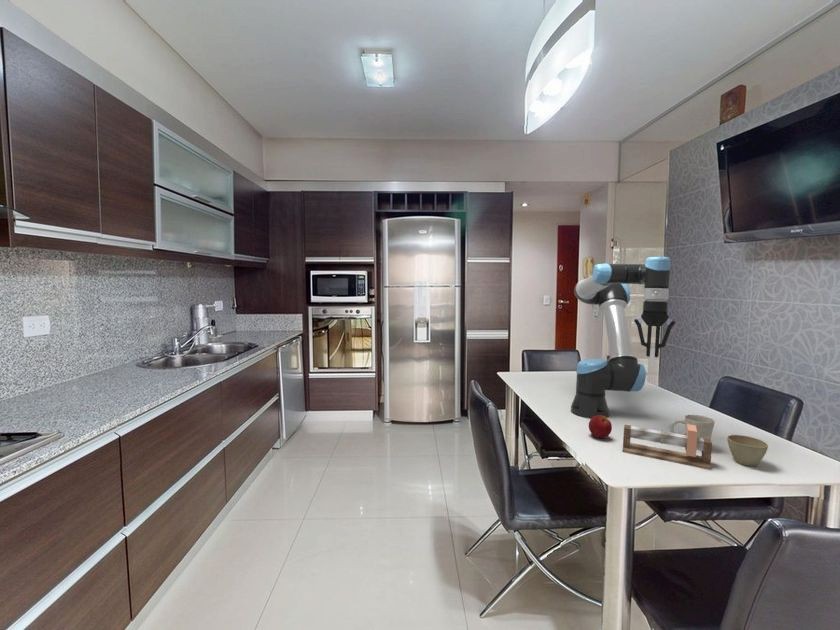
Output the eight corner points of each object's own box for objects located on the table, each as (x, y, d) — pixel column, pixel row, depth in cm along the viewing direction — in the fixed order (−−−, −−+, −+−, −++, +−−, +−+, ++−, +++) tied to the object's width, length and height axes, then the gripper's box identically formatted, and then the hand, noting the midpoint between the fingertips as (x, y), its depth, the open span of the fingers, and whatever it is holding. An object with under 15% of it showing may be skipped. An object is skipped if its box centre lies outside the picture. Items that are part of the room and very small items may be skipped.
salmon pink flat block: (686, 455, 124) (688, 430, 123) (685, 448, 130) (686, 423, 129) (695, 457, 123) (697, 431, 122) (693, 449, 128) (695, 425, 128)
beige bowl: (717, 456, 130) (719, 434, 130) (745, 455, 131) (747, 434, 130) (744, 470, 120) (746, 447, 120) (775, 469, 121) (777, 446, 120)
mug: (713, 453, 132) (715, 424, 131) (668, 445, 138) (670, 417, 138) (711, 445, 139) (713, 417, 138) (668, 437, 145) (670, 411, 145)
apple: (588, 439, 143) (589, 417, 142) (588, 432, 150) (589, 411, 149) (612, 442, 140) (613, 420, 139) (610, 435, 147) (611, 413, 147)
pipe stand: (622, 451, 132) (623, 429, 132) (623, 443, 139) (625, 422, 139) (711, 469, 120) (713, 444, 120) (708, 459, 127) (709, 436, 127)
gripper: (634, 300, 142) (630, 365, 144) (677, 301, 136) (673, 369, 138) (635, 299, 149) (631, 362, 151) (676, 300, 142) (672, 366, 144)
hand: (651, 365), depth 144 cm, fingers closed
